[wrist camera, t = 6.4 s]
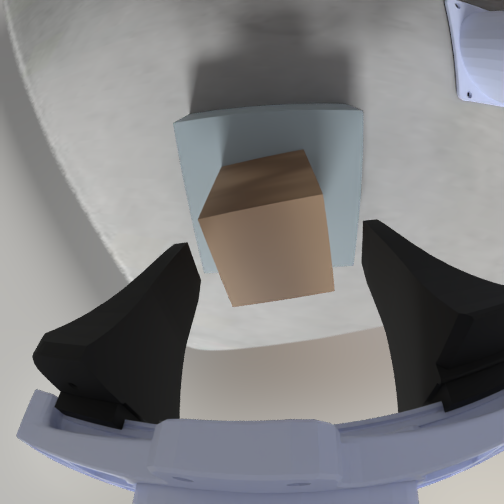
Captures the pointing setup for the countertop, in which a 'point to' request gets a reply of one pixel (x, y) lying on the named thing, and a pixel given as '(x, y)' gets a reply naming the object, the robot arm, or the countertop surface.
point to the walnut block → (268, 230)
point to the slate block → (276, 142)
